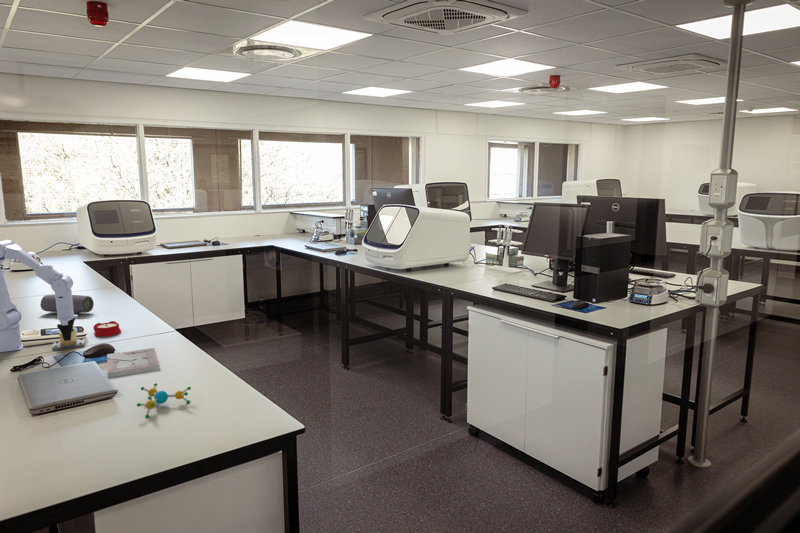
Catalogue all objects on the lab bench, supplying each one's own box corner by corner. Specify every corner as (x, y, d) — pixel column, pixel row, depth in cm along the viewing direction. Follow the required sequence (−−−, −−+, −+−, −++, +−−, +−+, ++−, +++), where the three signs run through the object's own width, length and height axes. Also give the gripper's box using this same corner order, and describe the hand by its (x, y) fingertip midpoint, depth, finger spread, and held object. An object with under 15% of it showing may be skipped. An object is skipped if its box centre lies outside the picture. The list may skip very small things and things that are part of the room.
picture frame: (107, 360, 198) (107, 379, 179) (107, 354, 197) (107, 372, 179) (154, 353, 206) (159, 370, 187) (154, 347, 205) (159, 364, 187)
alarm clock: (96, 331, 221) (90, 316, 231) (97, 344, 223) (91, 328, 233) (123, 327, 227) (116, 313, 238) (123, 339, 229) (116, 325, 240)
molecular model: (197, 403, 160) (173, 390, 169) (196, 388, 159) (172, 376, 168) (143, 422, 147) (121, 407, 157) (142, 406, 146) (120, 392, 156)
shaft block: (52, 350, 206) (50, 337, 205) (54, 344, 213) (52, 332, 212) (84, 346, 211) (82, 333, 210) (85, 341, 218) (83, 328, 217)
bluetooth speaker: (95, 312, 265) (93, 293, 263) (82, 317, 256) (80, 297, 254) (54, 310, 267) (52, 292, 266) (40, 315, 258) (38, 296, 256)
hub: (60, 345, 208) (58, 334, 207) (61, 342, 213) (60, 330, 212) (76, 343, 211) (75, 332, 210) (77, 340, 216) (75, 328, 215)
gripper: (75, 308, 205) (78, 341, 207) (77, 301, 218) (80, 331, 220) (53, 310, 202) (57, 343, 204) (57, 302, 214) (61, 334, 217)
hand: (68, 337), depth 212 cm, fingers open, 7 cm apart
